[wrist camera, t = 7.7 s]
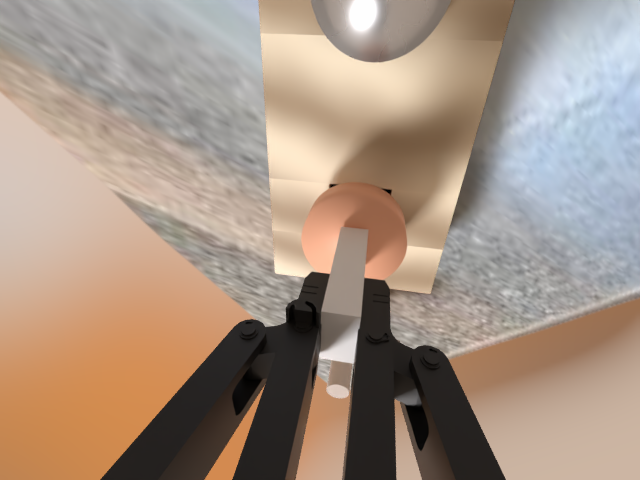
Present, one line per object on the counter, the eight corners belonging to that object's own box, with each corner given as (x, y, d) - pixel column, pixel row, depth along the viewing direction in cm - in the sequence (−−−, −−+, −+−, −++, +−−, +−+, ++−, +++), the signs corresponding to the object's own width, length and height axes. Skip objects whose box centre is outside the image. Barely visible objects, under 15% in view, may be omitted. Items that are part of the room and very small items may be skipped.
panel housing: (285, -140, 17) (245, -214, 12) (520, -149, 16) (583, -238, 11) (293, 234, 30) (275, 273, 25) (422, 249, 29) (430, 293, 24)
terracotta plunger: (323, 150, 23) (301, 191, 17) (407, 157, 22) (416, 202, 16) (321, 222, 26) (301, 278, 20) (394, 230, 25) (397, 291, 19)
